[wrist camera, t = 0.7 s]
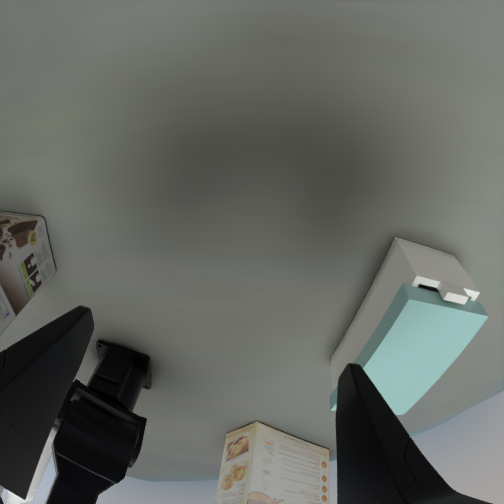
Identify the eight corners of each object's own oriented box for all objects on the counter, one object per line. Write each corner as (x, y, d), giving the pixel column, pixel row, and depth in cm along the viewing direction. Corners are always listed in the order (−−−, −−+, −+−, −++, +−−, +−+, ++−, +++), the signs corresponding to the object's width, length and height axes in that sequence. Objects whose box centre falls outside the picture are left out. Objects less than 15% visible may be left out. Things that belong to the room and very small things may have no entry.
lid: (400, 401, 24) (403, 414, 23) (329, 395, 24) (330, 410, 23) (480, 302, 18) (488, 316, 17) (402, 283, 18) (409, 298, 16)
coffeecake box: (224, 433, 40) (202, 555, 23) (257, 419, 36) (239, 560, 20) (297, 460, 44) (291, 563, 27) (330, 448, 40) (330, 561, 24)
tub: (381, 367, 29) (391, 416, 24) (329, 360, 29) (333, 413, 24) (454, 254, 22) (487, 302, 16) (395, 235, 22) (423, 285, 16)
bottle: (64, 440, 57) (29, 532, 31) (42, 429, 57) (5, 516, 32) (52, 425, 53) (11, 524, 27) (28, 414, 53) (-14, 507, 28)
